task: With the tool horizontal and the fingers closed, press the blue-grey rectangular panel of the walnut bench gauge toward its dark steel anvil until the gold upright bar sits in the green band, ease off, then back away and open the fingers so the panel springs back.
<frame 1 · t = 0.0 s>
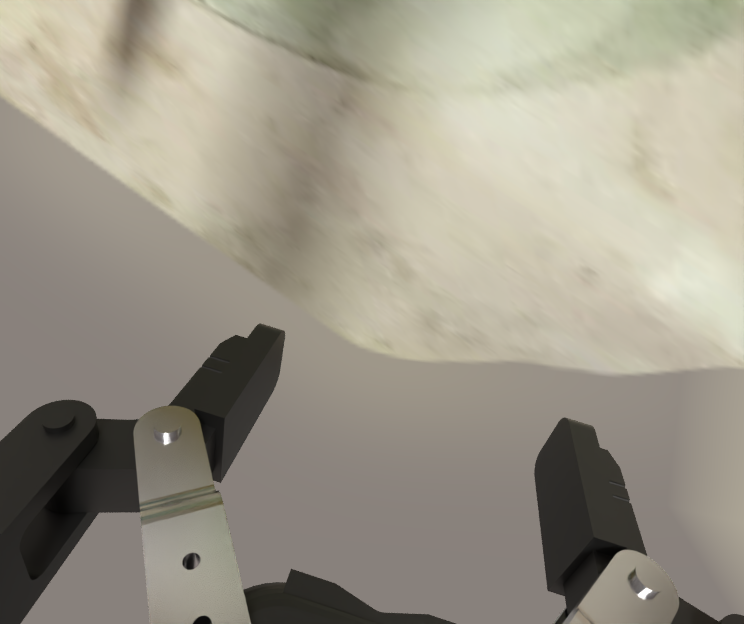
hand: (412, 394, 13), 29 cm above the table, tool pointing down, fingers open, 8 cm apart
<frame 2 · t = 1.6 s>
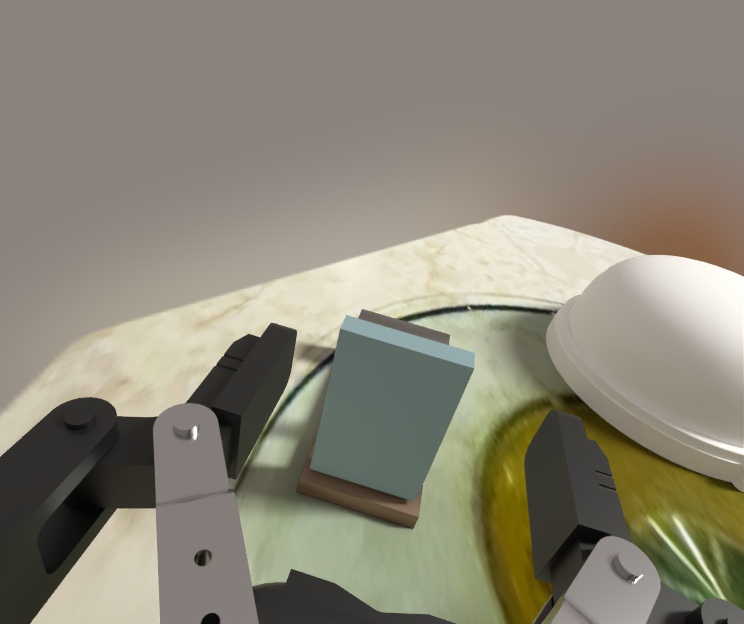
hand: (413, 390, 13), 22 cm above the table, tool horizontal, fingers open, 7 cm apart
dome cover: (662, 382, 58), on the table
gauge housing: (377, 422, 42), on the table
blue-grey rectangular panel: (387, 401, 32), point 8 cm above the table, slide at 0.0 cm
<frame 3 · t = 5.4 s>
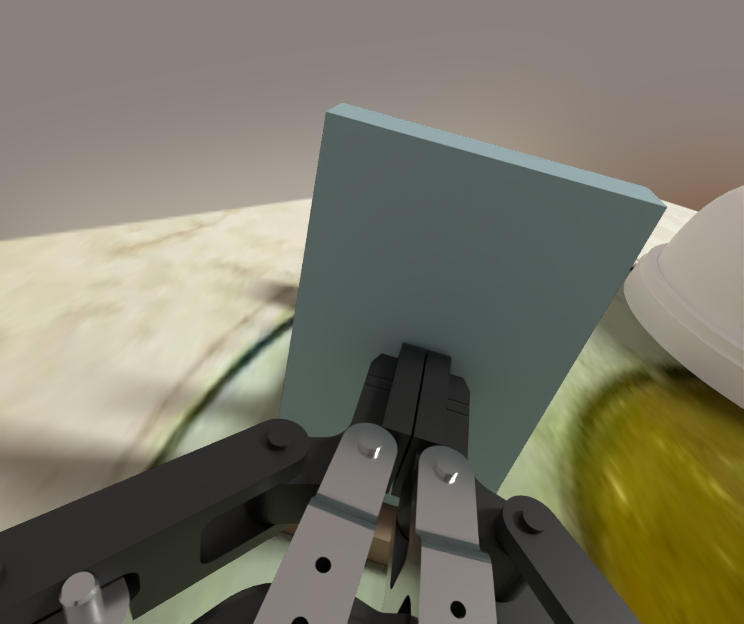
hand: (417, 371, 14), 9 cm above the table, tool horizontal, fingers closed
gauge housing: (392, 398, 25), on the table
blue-grey rectangular panel: (424, 330, 16), point 8 cm above the table, slide at 0.4 cm, touching gripper
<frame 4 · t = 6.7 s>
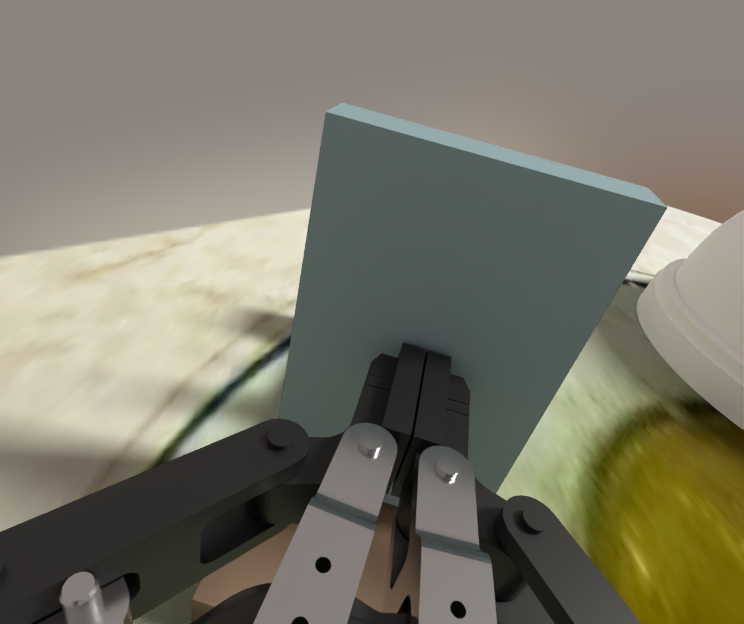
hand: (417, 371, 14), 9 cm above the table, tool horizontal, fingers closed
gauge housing: (379, 450, 22), on the table
blue-grey rectangular panel: (424, 330, 16), point 8 cm above the table, slide at 4.2 cm, touching gripper, gold upright bar
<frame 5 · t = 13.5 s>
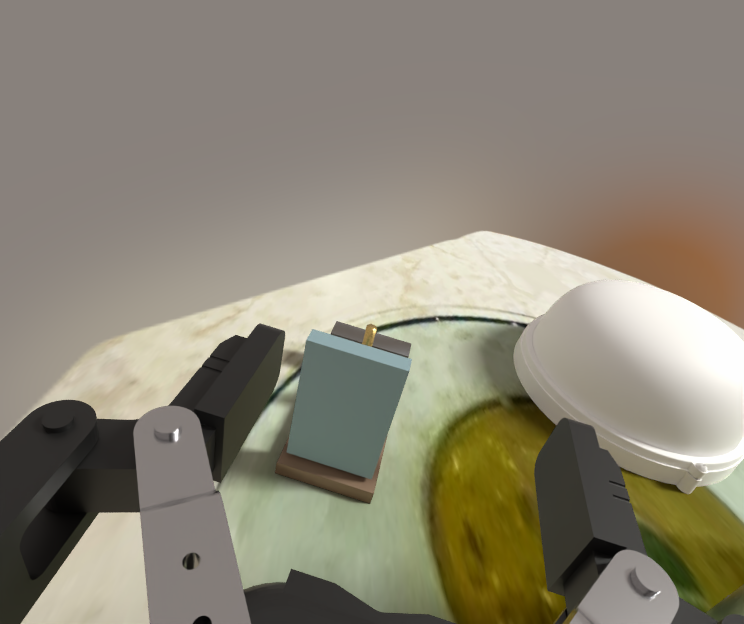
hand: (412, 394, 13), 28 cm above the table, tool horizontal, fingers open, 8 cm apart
dome cover: (617, 393, 65), on the table
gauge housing: (346, 418, 50), on the table
blue-grey rectangular panel: (348, 397, 40), point 8 cm above the table, slide at 0.2 cm
gold upright bar: (362, 360, 47), point 7 cm above the table, slide at 3.7 cm
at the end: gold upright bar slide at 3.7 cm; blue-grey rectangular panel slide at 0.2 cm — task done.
